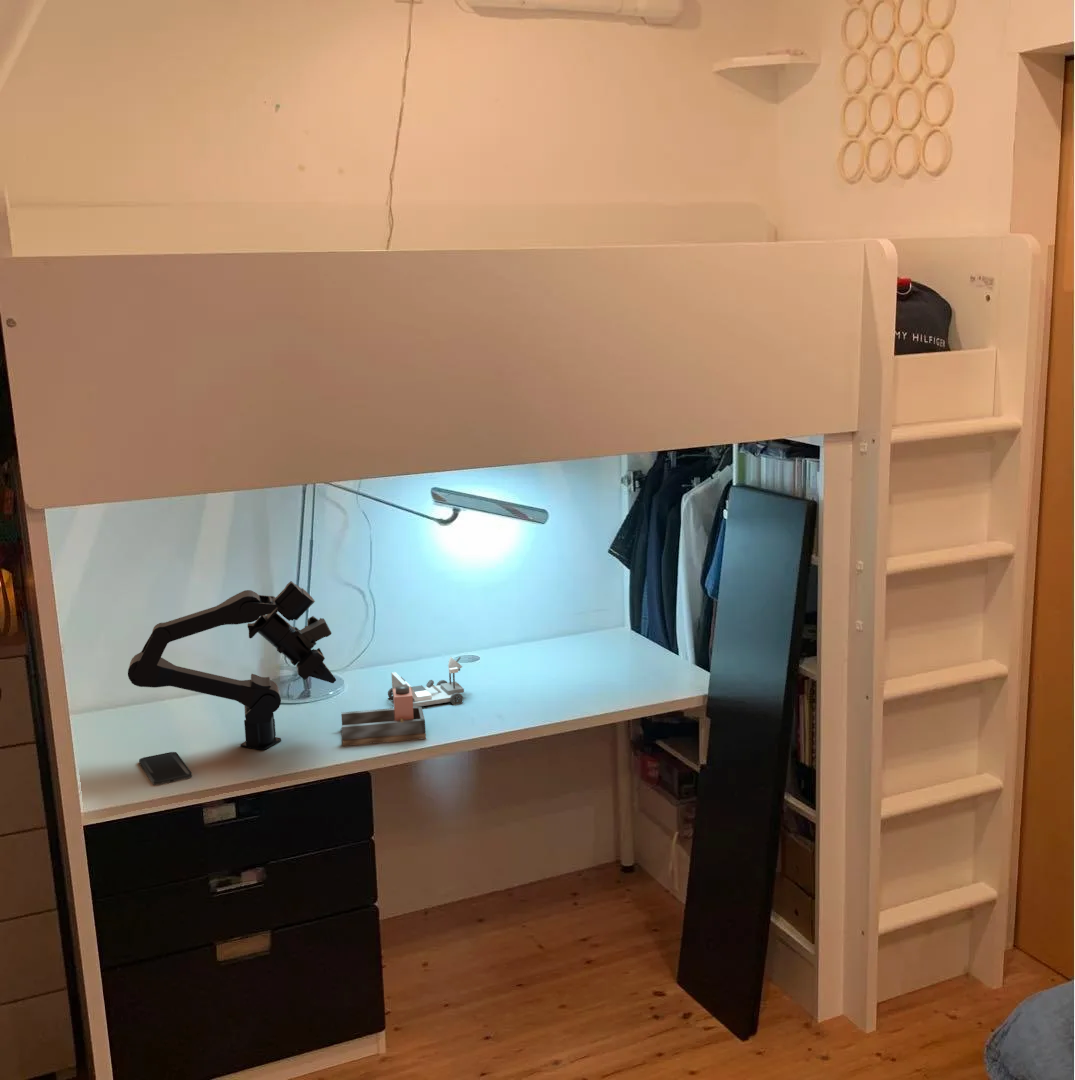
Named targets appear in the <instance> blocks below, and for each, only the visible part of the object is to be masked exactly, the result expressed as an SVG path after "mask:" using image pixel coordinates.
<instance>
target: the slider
mask: <svg viewBox="0 0 1075 1080" xmlns="http://www.w3.org/2000/svg"><path fill="white" fill-rule="evenodd" d="M411 687H412V686H411ZM411 687H409V686H408V685H399V686H396V687H395V688H396V689H393V695H392V696H393V699H392V700H393V708H394V721H400V718H403V720H412V719H414V717H413V696H412V691H411Z"/></svg>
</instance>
